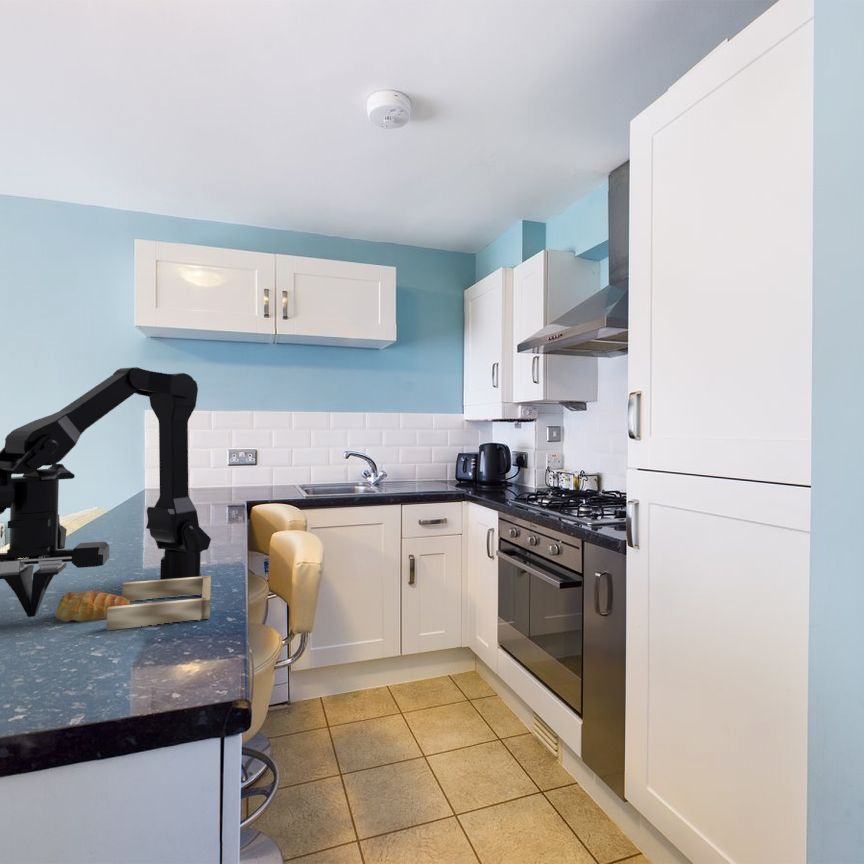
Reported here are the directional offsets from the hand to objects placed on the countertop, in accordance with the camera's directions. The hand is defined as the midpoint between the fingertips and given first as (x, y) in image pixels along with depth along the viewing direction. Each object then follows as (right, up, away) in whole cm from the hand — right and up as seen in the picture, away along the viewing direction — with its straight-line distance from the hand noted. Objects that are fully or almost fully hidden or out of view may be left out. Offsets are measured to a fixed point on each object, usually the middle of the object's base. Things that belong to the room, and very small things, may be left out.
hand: (32, 615), depth 78 cm
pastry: (+6, -2, +4) cm, 7 cm away
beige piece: (+16, -1, +7) cm, 17 cm away
